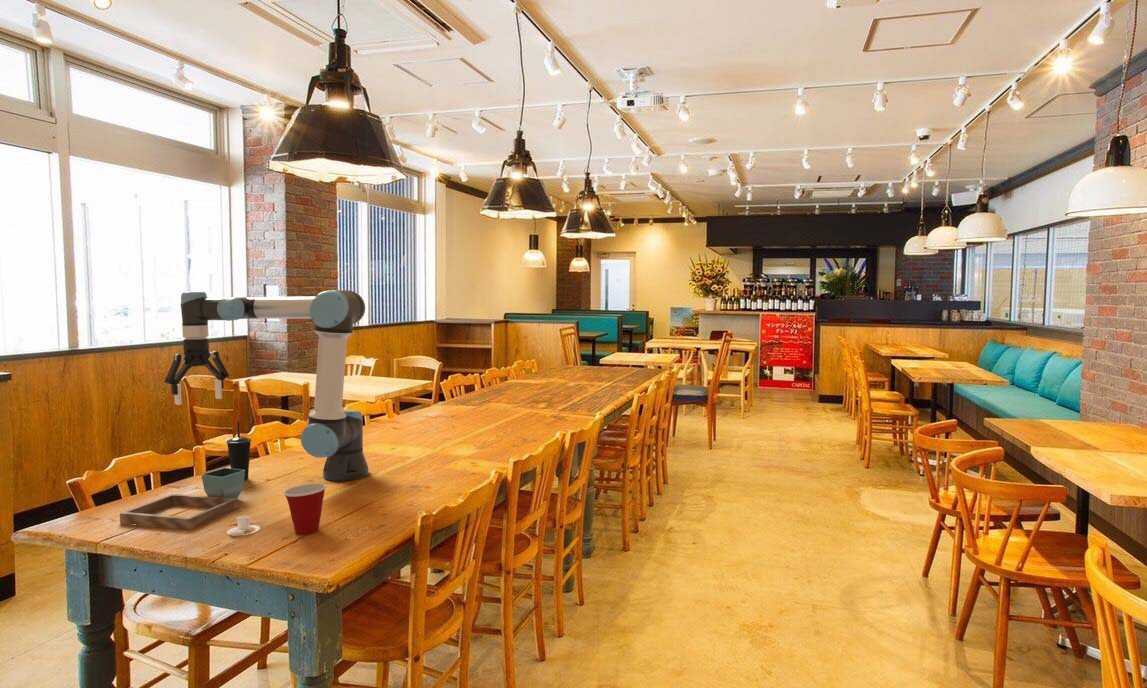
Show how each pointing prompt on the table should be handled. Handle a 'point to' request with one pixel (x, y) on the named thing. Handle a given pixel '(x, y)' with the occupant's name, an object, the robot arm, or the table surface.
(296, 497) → the plastic cup
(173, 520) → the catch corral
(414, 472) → the table surface
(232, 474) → the flower pot
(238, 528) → the teacup and saucer
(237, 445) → the drinking cup
